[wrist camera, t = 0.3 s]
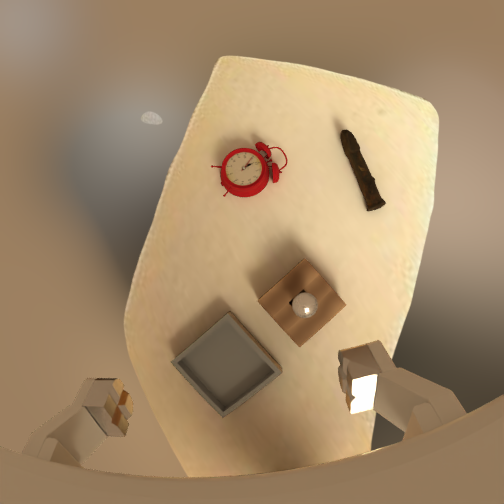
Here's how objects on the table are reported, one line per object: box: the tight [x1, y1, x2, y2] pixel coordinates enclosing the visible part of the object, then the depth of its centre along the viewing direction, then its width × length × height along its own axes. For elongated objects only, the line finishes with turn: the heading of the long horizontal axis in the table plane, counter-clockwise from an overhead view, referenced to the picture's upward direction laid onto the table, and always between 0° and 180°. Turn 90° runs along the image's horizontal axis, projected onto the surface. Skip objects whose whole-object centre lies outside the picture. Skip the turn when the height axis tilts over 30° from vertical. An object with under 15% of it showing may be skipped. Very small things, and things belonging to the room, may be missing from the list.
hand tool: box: [341, 130, 386, 211], centre depth 62 cm, size 19×4×5 cm, turn 17°
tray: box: [171, 312, 282, 417], centre depth 60 cm, size 16×16×4 cm
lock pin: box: [292, 292, 318, 318], centre depth 57 cm, size 4×4×9 cm
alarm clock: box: [211, 142, 287, 197], centre depth 63 cm, size 10×6×15 cm
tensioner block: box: [258, 259, 346, 347], centre depth 60 cm, size 12×12×5 cm
